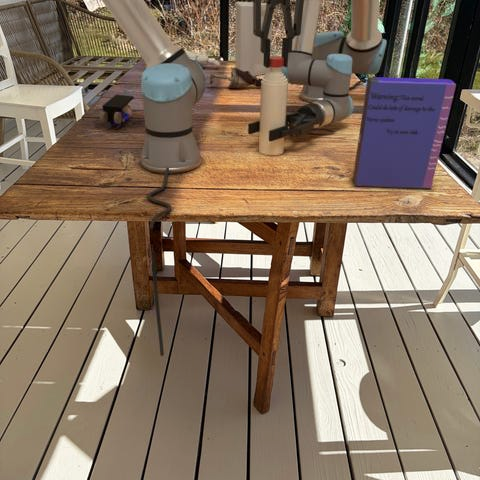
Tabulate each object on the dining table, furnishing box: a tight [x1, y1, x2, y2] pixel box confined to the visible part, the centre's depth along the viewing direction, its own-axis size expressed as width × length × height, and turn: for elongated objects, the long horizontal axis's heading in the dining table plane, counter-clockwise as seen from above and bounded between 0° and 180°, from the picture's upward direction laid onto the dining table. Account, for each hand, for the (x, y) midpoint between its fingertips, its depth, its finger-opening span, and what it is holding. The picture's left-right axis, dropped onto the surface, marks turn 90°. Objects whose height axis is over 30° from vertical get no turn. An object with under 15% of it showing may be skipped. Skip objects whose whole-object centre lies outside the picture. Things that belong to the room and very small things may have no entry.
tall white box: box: [234, 1, 273, 77], centre depth 210 cm, size 19×15×28 cm
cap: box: [270, 55, 284, 68], centre depth 120 cm, size 4×4×2 cm
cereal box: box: [352, 76, 457, 190], centre depth 107 cm, size 17×5×24 cm, turn 86°
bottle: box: [258, 67, 289, 156], centre depth 126 cm, size 7×7×24 cm
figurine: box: [209, 66, 262, 89], centre depth 190 cm, size 24×8×30 cm
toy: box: [185, 50, 221, 69], centre depth 223 cm, size 24×25×7 cm
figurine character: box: [98, 94, 135, 130], centre depth 148 cm, size 7×8×15 cm
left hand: (275, 66), depth 120 cm, fingers closed on cap, 4 cm apart
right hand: (259, 132), depth 126 cm, fingers closed on bottle, 7 cm apart
